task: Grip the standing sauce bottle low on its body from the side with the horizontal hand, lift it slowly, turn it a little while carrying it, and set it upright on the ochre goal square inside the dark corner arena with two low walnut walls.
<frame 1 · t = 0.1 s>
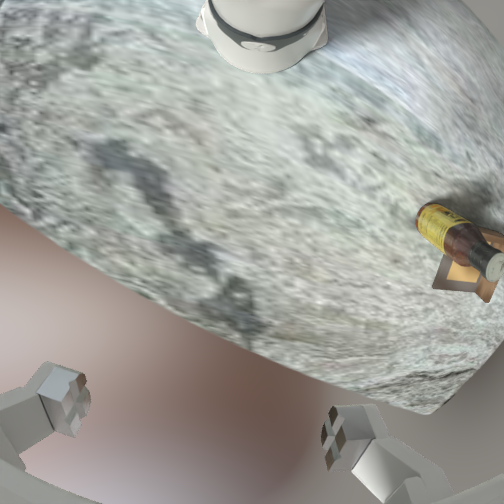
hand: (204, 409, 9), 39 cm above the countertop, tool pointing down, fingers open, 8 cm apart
corner arena: (467, 258, 50), on the countertop
sauce bottle: (427, 217, 47), on the countertop
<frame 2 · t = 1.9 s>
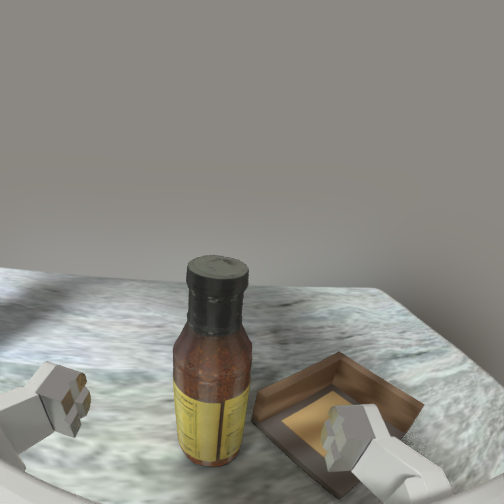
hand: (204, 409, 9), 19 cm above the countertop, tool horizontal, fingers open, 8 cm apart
corner arena: (334, 431, 30), on the countertop
sauce bottle: (207, 447, 26), on the countertop
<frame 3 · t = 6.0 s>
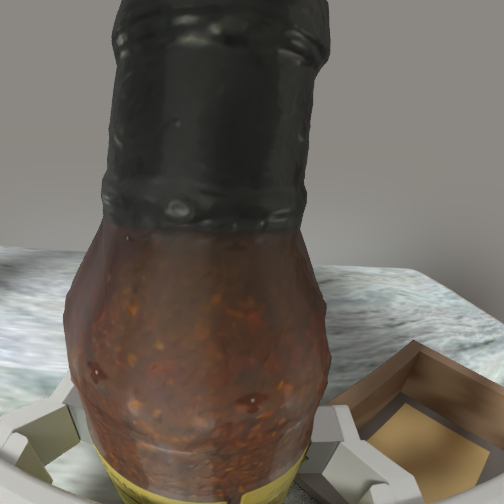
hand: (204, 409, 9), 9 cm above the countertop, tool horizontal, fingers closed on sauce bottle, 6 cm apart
corner arena: (419, 470, 14), on the countertop
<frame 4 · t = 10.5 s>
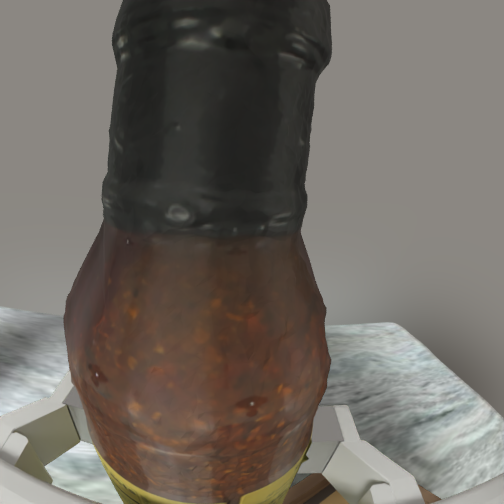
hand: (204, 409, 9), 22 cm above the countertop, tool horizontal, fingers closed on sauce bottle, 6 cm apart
when the fingers open (11 cm above the countertop, at t = 15.1 s): sauce bottle drops 1 cm, resting on corner arena.
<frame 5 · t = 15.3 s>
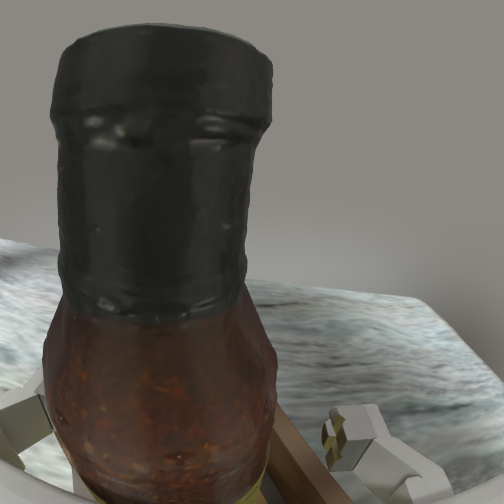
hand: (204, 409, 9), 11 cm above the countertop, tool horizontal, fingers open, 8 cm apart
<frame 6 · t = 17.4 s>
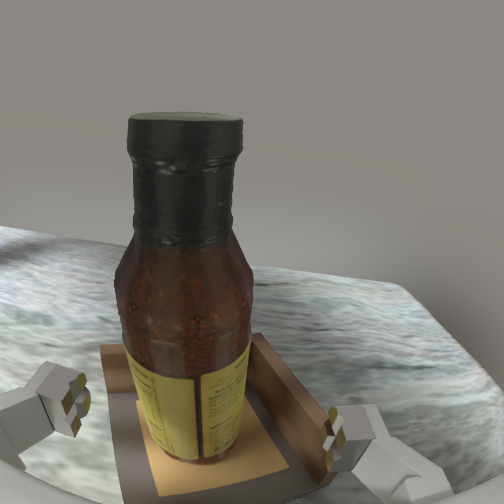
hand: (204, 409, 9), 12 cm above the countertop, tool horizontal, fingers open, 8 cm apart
corner arena: (205, 442, 20), on the countertop
sauce bottle: (192, 433, 19), point 1 cm above the countertop, touching corner arena
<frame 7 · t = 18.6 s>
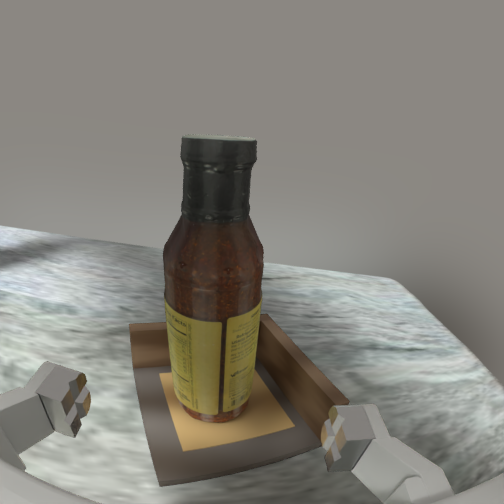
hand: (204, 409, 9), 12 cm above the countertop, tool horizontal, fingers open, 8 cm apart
corner arena: (221, 407, 24), on the countertop
sauce bottle: (210, 400, 23), point 1 cm above the countertop, touching corner arena
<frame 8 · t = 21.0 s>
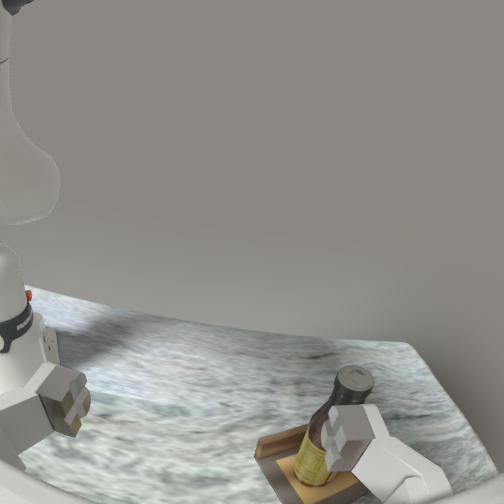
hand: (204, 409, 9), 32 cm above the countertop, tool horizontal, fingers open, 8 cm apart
corner arena: (315, 475, 35), on the countertop
sauce bottle: (310, 473, 35), point 1 cm above the countertop, touching corner arena
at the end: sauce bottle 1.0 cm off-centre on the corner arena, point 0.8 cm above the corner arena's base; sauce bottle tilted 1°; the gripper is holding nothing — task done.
